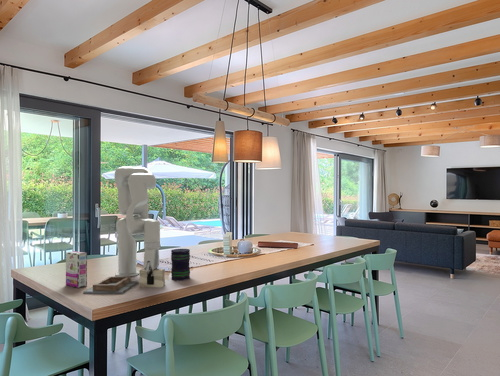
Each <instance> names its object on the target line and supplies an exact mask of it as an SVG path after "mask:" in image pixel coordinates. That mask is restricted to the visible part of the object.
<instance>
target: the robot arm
mask: <svg viewBox="0 0 500 376" xmlns="http://www.w3.org/2000/svg"><path fill="white" fill-rule="evenodd" d="M156 180H157V179H156V177H155V175H154V174H153V172H152V171H150V170H149V169H147V168H146V167H140V166H120V167H118V168H116V169H115V170H114V183H115V186H116V189H117V197H118V198H117V200H118V211H119V214H120V215H122V216H125V217H123V218H120V219H118V220H117V222H116V223H115V224H116V233H117V243H118V244H117V246H118V248H117V251H118V252H117V253H118V254H117V256H118V259H117V260H118V262H117V263H118V266H117V267H118V268H117V269H118V271H116V272H115V277H136V276H138V275H139V271H140V270H137V268H138V265H137V242H136V240H135V238H134V237H133V236H136V235H143V249H144V253H143V269H144V270H146V273H147V285H153V284H154V276H153V270H154V269H158V267H159V266H160V249H161V223H160V221H159V220H157V219H154V218H150V217H149V216H150V215H149V204H148V202H149V200H150V198H149V194H148V190H154V189H155V188H156V186H157V185H156V184H157V181H156ZM134 216H136V217H134ZM137 216H138V217H137ZM150 269H152V270H150ZM151 271H152V273H151Z"/></svg>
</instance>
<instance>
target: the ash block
mask: <svg viewBox="0 0 500 376" xmlns="http://www.w3.org/2000/svg"><path fill="white" fill-rule="evenodd" d="M150 270H152V269H151V268H150ZM138 271H139V274H138V275H139V288H163V287H164V286H165V285H166V278H165V277H166V275H165V273H166V272H165V268H157V269H154V270H153V276H154V284H153V285H147V273H146V270H144V268H141V269H140V270H138ZM151 273H152V271H151Z"/></svg>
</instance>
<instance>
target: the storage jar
mask: <svg viewBox="0 0 500 376" xmlns="http://www.w3.org/2000/svg"><path fill="white" fill-rule="evenodd" d="M190 250H191V249H190V248H189V249H188V248H175V249H171V250H170V251H171V255H170V257H171V259H170V260H171V269H170V270H171V271H170V274H171V280H172V281H178V282H179V281H187V280H190V278H191V276H190V275H191V268H190V267H191V266H190V260H191V258H190V257H191V255H190V254H191V252H190Z"/></svg>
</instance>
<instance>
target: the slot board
mask: <svg viewBox="0 0 500 376" xmlns="http://www.w3.org/2000/svg"><path fill="white" fill-rule="evenodd" d="M137 284H140V280H132V276H130V277H118V276H111V275H110V276H107V277H105V278H104V279H101V280H100V281H98V282H96V283H94V284H92V287H89V288H87V289H86V290H84V291H83V294H85V295H87V294H88V295H91V294H93V295H96V294H97V295H124V293H126V292H127V291H129V290H130V289H132V288H134V287H135V286H136V285H137Z"/></svg>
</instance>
